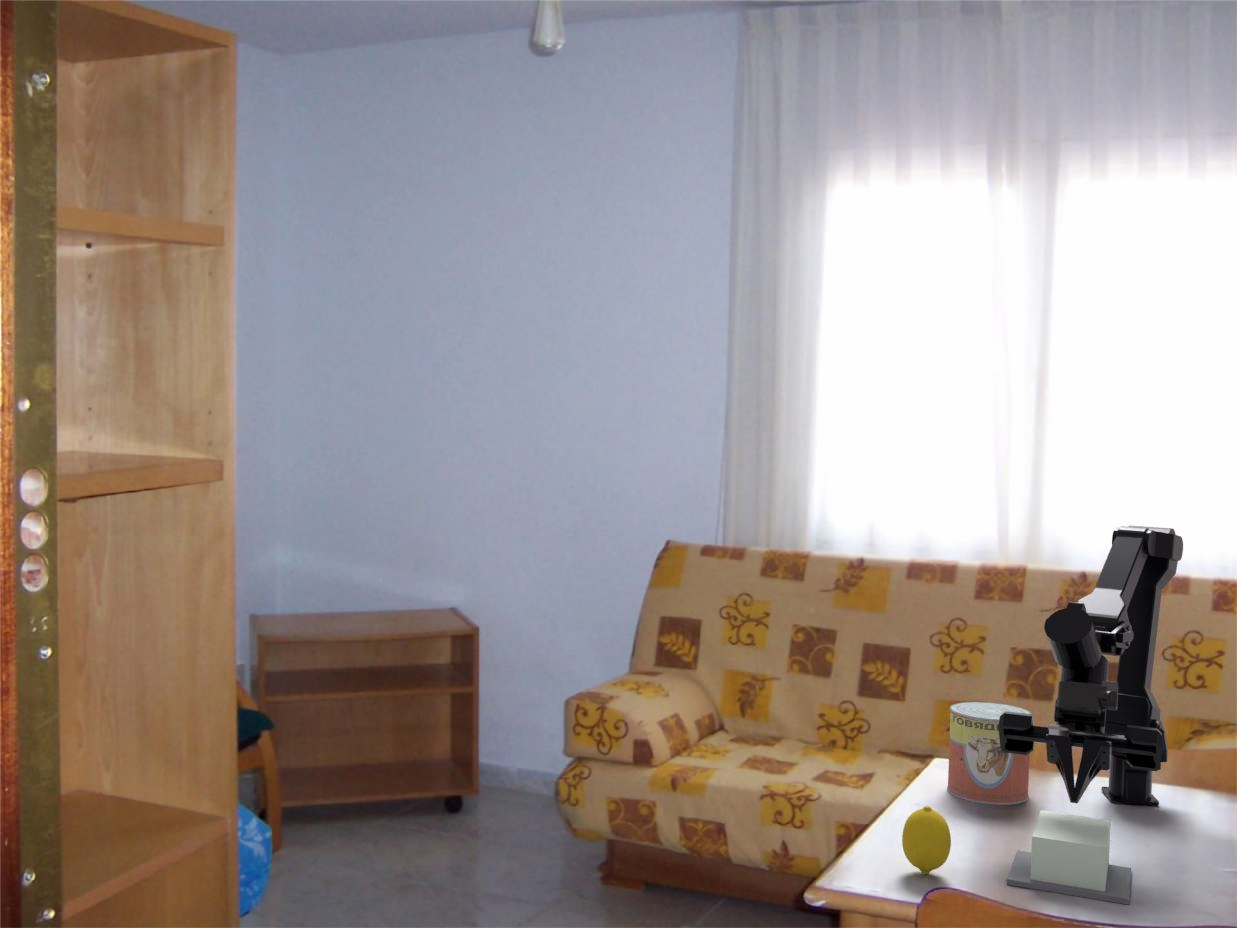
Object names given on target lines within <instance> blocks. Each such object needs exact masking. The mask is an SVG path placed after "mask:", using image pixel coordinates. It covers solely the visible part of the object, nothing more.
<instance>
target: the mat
mask: <svg viewBox="0 0 1237 928" xmlns="http://www.w3.org/2000/svg"><path fill="white" fill-rule="evenodd" d="M1030 876H1031V851H1025V850H1018V849H1017V850H1016V853H1015V855H1014V858H1013V860H1012V864H1011V867H1010V870H1009V872H1008V875H1007V878H1006V885H1008V886H1013V887H1014V886H1015V887H1020V888H1025V889H1026V888H1027V889H1032V890H1039V891H1045V892H1051V893H1056V894H1057V893H1058V894H1064V895H1070V896H1075V897H1080V898H1081V897H1082V898H1086V899H1087V898H1088V899H1094V900H1100V901H1103V902H1104V901H1106V902H1109V903H1111V902H1112V903H1118V904H1123V905H1124V904H1125V905H1130V895H1131V881H1132V867H1127V866H1124V865H1123V866H1121V865H1115V864H1109V865H1108V873H1107V880H1106V888H1105V891H1099V890H1092V889H1086V888H1080V887H1074V886H1068V885H1062V884H1056V883H1049V882H1043V881H1037V880H1031V879H1030Z"/></svg>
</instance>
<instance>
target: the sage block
mask: <svg viewBox="0 0 1237 928" xmlns="http://www.w3.org/2000/svg"><path fill="white" fill-rule="evenodd" d="M1111 824H1112V823H1111V819H1106V818H1105V819H1104V818H1098V817H1090V816H1084V815H1079V814H1078V815H1077V814H1069V813H1062V812H1056V811H1050V810H1040V811H1039V815H1038V817H1037V820H1036V823H1035V827H1034V829H1033V831H1032V835H1031V851H1030V852H1031V876H1030V879H1031V880H1037V881H1043V882H1049V883H1056V884H1062V885H1068V886H1074V887H1080V888H1086V889H1092V890H1099V891H1105V888H1106V880H1107V873H1108V865H1109V863H1110V845H1111V844H1110V843H1111V842H1110V841H1111Z"/></svg>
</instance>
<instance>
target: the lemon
mask: <svg viewBox="0 0 1237 928" xmlns="http://www.w3.org/2000/svg"><path fill="white" fill-rule="evenodd" d="M901 839H902V840H901V843H902V850H903V853H904V855H905V858H906V859H907V861H908V862H909V863H910V864H911V866H913V867H915V868H916V869H918V870H919V871H920V872H921V873H922V875H929V874H930V873H931V872H932V871H934V870H937V869H940V868H941V867H942V866H943V865H944V864H945V863H946V862H947V861H948V858H949V856H950V852H951V847H952V837H951V831H950V828H949V824H948V822H947V820H946V819H945V817H944V816H943V815H942V814H940V812H938V811H937V810H935V809H932V807H931V806H927V805H926V806H924V807H923V808H920V809H917V810H914V811H913V812H912V813H911V814H910V815H909V816H908V817H907V819H906V820H905V823H904V826H903V829H902V837H901Z"/></svg>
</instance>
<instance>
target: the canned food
mask: <svg viewBox="0 0 1237 928" xmlns="http://www.w3.org/2000/svg"><path fill="white" fill-rule="evenodd" d="M949 710H950V715H949V716H950V717H949V720H950V721H949V745H948V747H949V749H948V771H947V773H948V776H947V787H946V791H947V792H948V793H949V794H951V795H952V796H954V797H956V798H958V799H962V800H965V801H968V802H973V803H977V804H983V805H994V806H995V805H996V806H997V805H998V806H1009V805H1019V804H1023V803H1025V802H1027V801H1028V800H1029V798H1030V797H1029V778H1030V777H1029V776H1030V754H1031V753H1029V754H1027V755H1022V754H1014V753H1006V752H1004V751H1002V750H1001V748H1000V738H999V729H998V726H999V719H1000V716H1001V715H1002V714H1003V713H1004V712H1005V711H1008V712H1017V713H1026V714H1032V713H1031V711H1030V710H1028V709H1026V708H1022V707H1019V706H1016V705H1011V704H1006V703H999V702H990V701H964V702H963V701H962V702H956V703H954V704H951V705H950V707H949Z"/></svg>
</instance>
